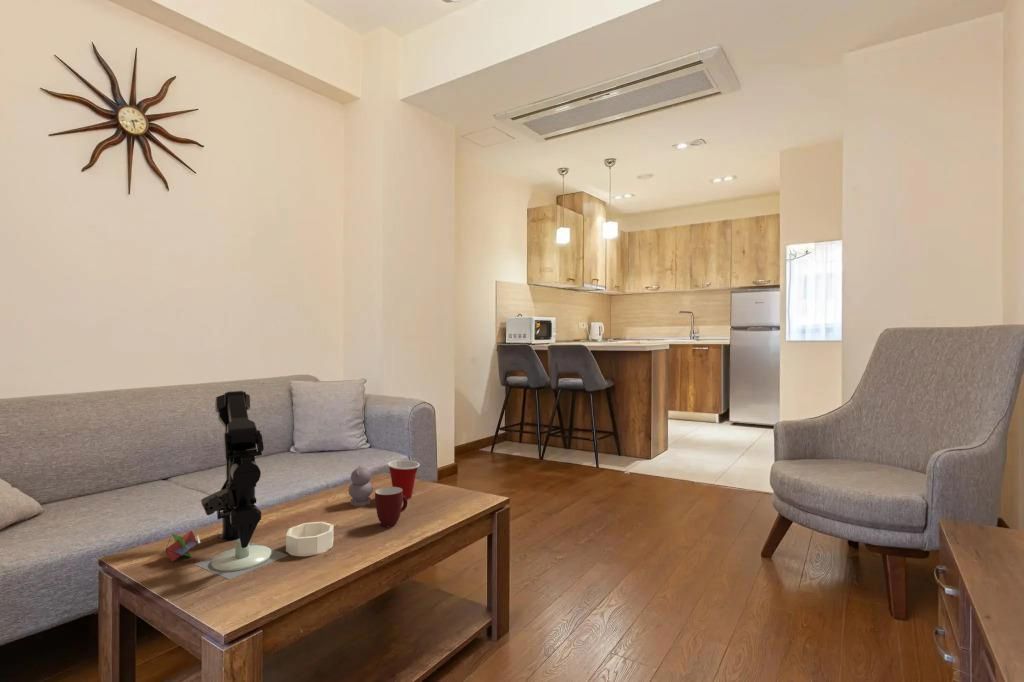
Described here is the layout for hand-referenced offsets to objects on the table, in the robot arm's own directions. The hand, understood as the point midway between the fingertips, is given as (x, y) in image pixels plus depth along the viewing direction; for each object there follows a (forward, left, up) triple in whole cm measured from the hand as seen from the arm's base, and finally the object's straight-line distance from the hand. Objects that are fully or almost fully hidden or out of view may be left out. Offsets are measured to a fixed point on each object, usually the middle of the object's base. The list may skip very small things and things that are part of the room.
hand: (242, 541), depth 124 cm
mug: (+13, +38, -5) cm, 40 cm away
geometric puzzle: (-14, -7, -5) cm, 16 cm away
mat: (0, 0, -5) cm, 5 cm away
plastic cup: (-1, +58, -5) cm, 58 cm away
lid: (0, 0, -4) cm, 5 cm away
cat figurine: (-9, +46, -5) cm, 47 cm away
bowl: (+8, +13, -5) cm, 16 cm away
